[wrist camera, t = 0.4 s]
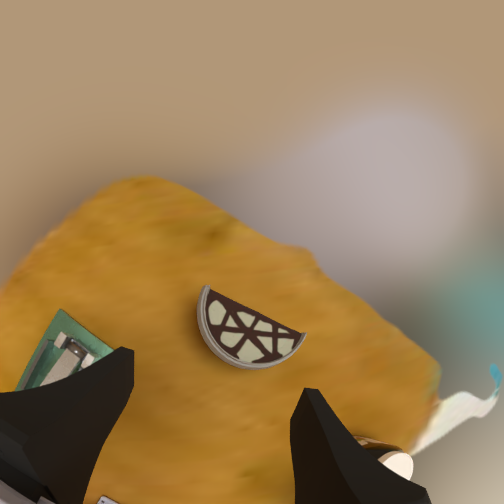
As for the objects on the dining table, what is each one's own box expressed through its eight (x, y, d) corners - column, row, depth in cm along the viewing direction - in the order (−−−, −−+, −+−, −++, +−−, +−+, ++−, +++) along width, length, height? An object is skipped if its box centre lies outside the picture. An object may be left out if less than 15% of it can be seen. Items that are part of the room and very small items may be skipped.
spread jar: (377, 435, 38) (427, 447, 27) (357, 496, 34) (402, 519, 23) (313, 431, 36) (358, 450, 26) (291, 497, 32) (328, 531, 21)
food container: (175, 341, 36) (176, 337, 27) (197, 299, 39) (204, 281, 30) (261, 381, 37) (289, 388, 28) (279, 340, 40) (311, 334, 31)
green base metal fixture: (62, 309, 33) (46, 302, 28) (133, 363, 34) (127, 364, 29) (13, 400, 27) (-7, 404, 22) (81, 455, 27) (68, 468, 22)
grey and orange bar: (71, 342, 29) (70, 339, 28) (87, 355, 29) (86, 352, 29) (18, 420, 21) (15, 419, 20) (34, 434, 21) (31, 434, 20)
